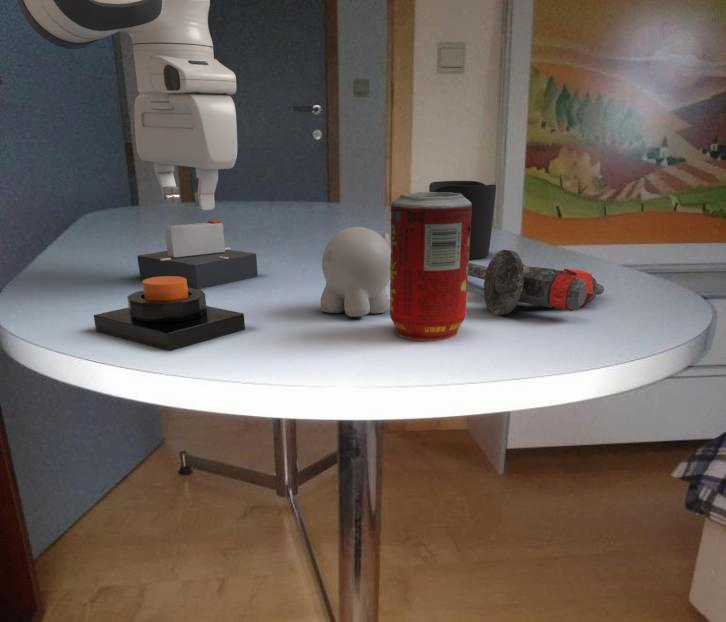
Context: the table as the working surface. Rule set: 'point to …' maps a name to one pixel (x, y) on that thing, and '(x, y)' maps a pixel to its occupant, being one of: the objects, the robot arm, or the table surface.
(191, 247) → the selector knob
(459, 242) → the soda can
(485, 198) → the pen holder
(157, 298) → the button
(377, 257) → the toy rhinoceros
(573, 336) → the table surface
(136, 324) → the control block
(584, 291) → the valve
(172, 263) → the block
